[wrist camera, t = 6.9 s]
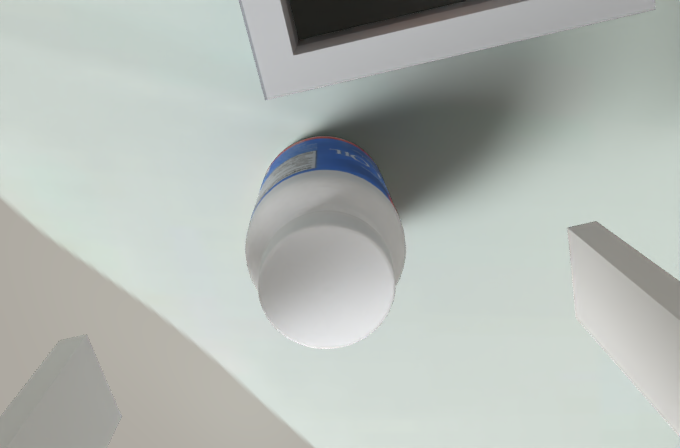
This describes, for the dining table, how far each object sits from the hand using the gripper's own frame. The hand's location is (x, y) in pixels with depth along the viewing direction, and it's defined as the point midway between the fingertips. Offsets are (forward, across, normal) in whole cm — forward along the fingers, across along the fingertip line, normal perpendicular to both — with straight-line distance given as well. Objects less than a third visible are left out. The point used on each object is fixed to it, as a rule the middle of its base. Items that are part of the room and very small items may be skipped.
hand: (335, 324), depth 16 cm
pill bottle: (+11, 0, 0) cm, 11 cm away
